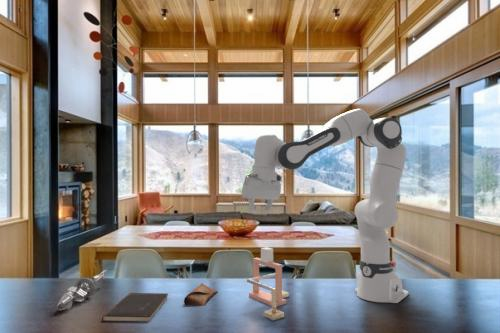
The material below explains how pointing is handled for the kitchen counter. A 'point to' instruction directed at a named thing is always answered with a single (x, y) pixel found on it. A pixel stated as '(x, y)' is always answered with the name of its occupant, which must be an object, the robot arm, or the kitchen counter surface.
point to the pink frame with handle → (268, 261)
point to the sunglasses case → (200, 296)
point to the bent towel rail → (273, 312)
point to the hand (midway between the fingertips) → (260, 210)
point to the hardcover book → (136, 307)
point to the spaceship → (79, 291)
